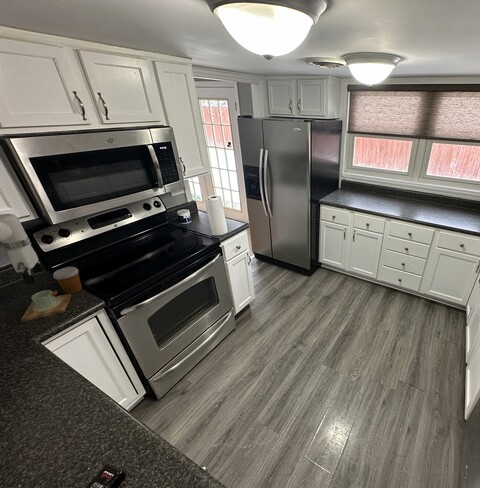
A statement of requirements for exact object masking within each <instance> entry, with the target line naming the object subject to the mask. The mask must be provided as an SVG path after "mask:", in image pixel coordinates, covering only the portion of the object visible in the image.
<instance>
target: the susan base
mask: <svg viewBox="0 0 480 488" xmlns="http://www.w3.org/2000/svg"><path fill="white" fill-rule="evenodd" d="M55 298H59V299H60V300H61V303H60V304H59V305H58V306H56V307H54V308H52V309H50V310H47V311H43V312H34V311H33V310H32V308H33V307H34V306H35V304H34V303H33V301H31V303H30V305H29V306H28V308H27V309H26V310H25V312H24V314H23V315H22V316H21V318H20V321H21V322H22V323H24V322H28V321H32V320H36V319H40V318H44V317H51V316H53V315H57V314H62V313H65V311H66V309H67V307H68V305H69V303H70V301H71V298H72V294H66V293H65V294H62V295H57V296H55Z"/></svg>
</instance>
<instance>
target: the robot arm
mask: <svg viewBox="0 0 480 488" xmlns="http://www.w3.org/2000/svg"><path fill="white" fill-rule="evenodd" d="M0 243H1V245H2V246H3V248H4V250H5V251H6V253H7V255H8V259H9V261H10V263H11V265H12V267H13V268H14V270H15V272H16V273H18V275H19V276H20V277H21V278H22V280H23V281H24V283H25V285H29V284H36V282H37V279H36V278H35V276H34V274H38V273H43V272H44V271H45V269H44V268H43V266H42V264H41V261H40V260H39V257H38V254H37V252H36V251H35V250H34V248H33V246H32V242H31V241H30V238H29V237H28V235H27V233H26V231H25V229H24V227H23V225H22V223H21V221H20V219H19V218H18V216H17V215H16V214H13V213H2V214H0ZM31 270H32V271H31ZM32 272H33V273H32Z"/></svg>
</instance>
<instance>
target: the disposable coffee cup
mask: <svg viewBox="0 0 480 488" xmlns="http://www.w3.org/2000/svg"><path fill="white" fill-rule="evenodd" d="M52 278H53V279H54V280H56V281H57V283H58V284H59V286H60V287H61V288H62V290H63V291H64V292H65V295H66V294H71V295H74V294H77V293H79V292H80V291H82V289H83V287H82V283H81V279H80V275H79V269H78V268H77V267H75V266H67V267H63V268H61V269H57V270H55V271H54V272H53V276H52Z"/></svg>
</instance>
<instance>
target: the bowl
mask: <svg viewBox="0 0 480 488" xmlns="http://www.w3.org/2000/svg"><path fill="white" fill-rule="evenodd" d="M57 294H58V290H53V291H52V290H51V289H48V290H47V289H45V290H41V291H39V292H36V293H34V294H32V295H31V297H30V299H31V302H33V303H34V304H35V306H34V307H33V308H32V310H33V311H34V312H43V311H47V310H50V309H52V308H54V307H56V306H58V305H59V304H60V303H61V300H60V299H59V298H55V297H56V295H57Z"/></svg>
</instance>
